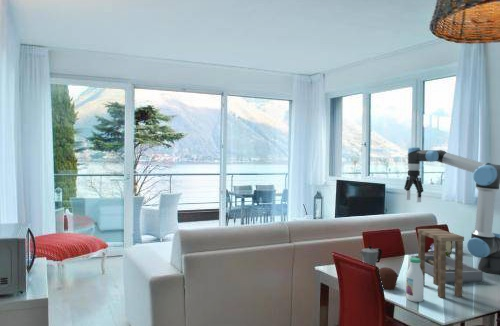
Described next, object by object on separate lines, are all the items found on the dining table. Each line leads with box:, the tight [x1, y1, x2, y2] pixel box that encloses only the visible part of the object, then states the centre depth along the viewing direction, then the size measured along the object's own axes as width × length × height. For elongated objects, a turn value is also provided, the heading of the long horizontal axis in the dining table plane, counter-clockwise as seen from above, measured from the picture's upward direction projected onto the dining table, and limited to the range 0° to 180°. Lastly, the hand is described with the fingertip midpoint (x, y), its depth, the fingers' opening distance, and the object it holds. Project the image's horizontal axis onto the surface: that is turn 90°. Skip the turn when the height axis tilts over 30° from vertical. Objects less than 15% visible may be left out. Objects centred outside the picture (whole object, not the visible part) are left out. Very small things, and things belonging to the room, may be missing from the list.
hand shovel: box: [427, 260, 455, 272], centre depth 230 cm, size 29×9×3 cm, turn 7°
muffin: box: [378, 267, 399, 291], centre depth 205 cm, size 12×11×10 cm
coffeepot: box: [360, 244, 383, 267], centre depth 224 cm, size 15×9×18 cm, turn 113°
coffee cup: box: [446, 241, 453, 254], centre depth 281 cm, size 9×9×12 cm
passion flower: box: [427, 242, 450, 257], centre depth 269 cm, size 11×11×12 cm
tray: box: [410, 254, 484, 285], centre depth 229 cm, size 35×22×6 cm, turn 7°
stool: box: [417, 228, 465, 299], centre depth 200 cm, size 21×12×30 cm, turn 7°
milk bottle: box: [405, 257, 425, 303], centre depth 188 cm, size 8×8×20 cm
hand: (413, 201), depth 263 cm, fingers open, 13 cm apart
